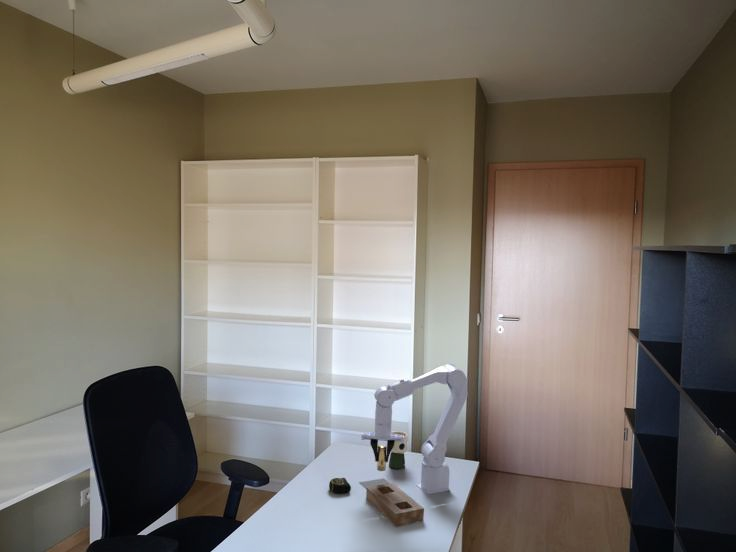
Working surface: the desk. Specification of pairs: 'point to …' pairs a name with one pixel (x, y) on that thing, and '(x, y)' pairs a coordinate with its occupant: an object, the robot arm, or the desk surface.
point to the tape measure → (339, 486)
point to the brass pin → (381, 458)
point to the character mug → (398, 452)
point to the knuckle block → (395, 504)
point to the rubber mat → (374, 483)
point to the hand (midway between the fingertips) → (381, 460)
